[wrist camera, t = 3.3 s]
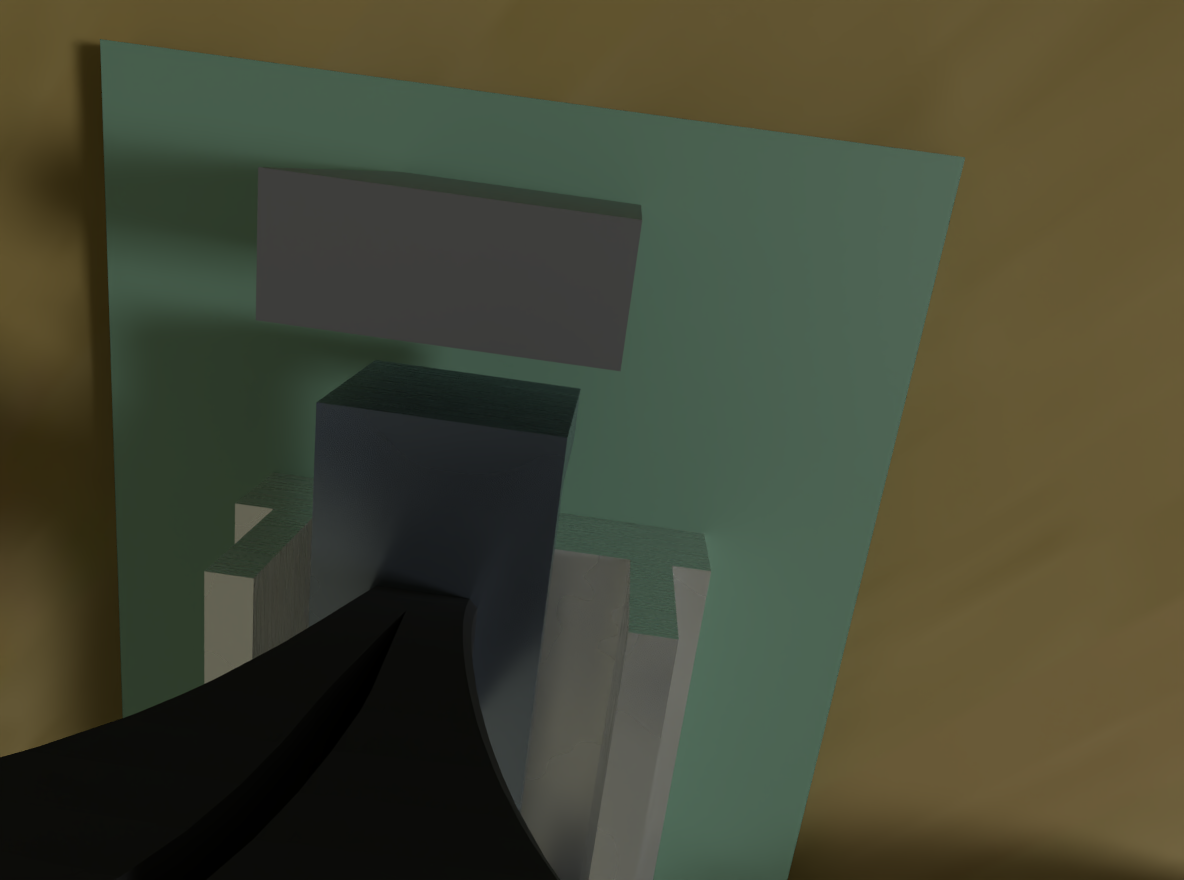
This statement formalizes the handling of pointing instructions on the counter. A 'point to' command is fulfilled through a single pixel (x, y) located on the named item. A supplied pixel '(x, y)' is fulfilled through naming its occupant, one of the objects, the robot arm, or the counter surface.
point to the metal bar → (448, 515)
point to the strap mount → (447, 263)
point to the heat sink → (566, 676)
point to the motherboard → (542, 374)
